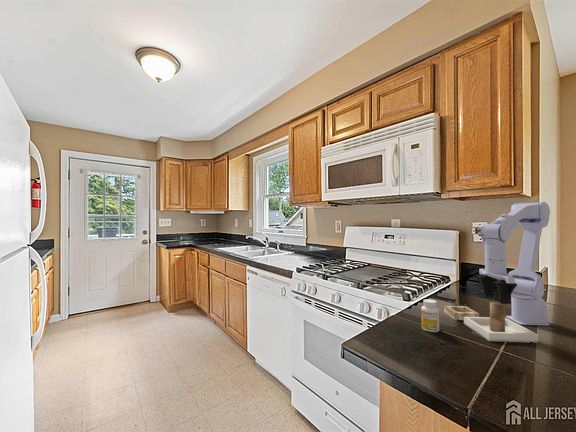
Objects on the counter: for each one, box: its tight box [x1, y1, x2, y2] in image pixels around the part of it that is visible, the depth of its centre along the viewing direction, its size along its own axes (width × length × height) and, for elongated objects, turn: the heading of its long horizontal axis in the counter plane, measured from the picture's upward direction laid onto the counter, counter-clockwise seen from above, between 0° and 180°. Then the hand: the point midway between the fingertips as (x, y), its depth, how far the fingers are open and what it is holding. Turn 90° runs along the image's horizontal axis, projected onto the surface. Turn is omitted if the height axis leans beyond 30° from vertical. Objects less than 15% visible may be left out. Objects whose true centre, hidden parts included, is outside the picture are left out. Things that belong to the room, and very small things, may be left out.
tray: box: [463, 316, 539, 344], centre depth 90 cm, size 14×14×2 cm
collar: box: [443, 305, 480, 321], centre depth 105 cm, size 8×8×2 cm
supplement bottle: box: [420, 298, 440, 333], centre depth 93 cm, size 5×5×10 cm
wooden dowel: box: [489, 301, 506, 332], centre depth 90 cm, size 4×4×9 cm
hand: (496, 300), depth 91 cm, fingers open, 7 cm apart
